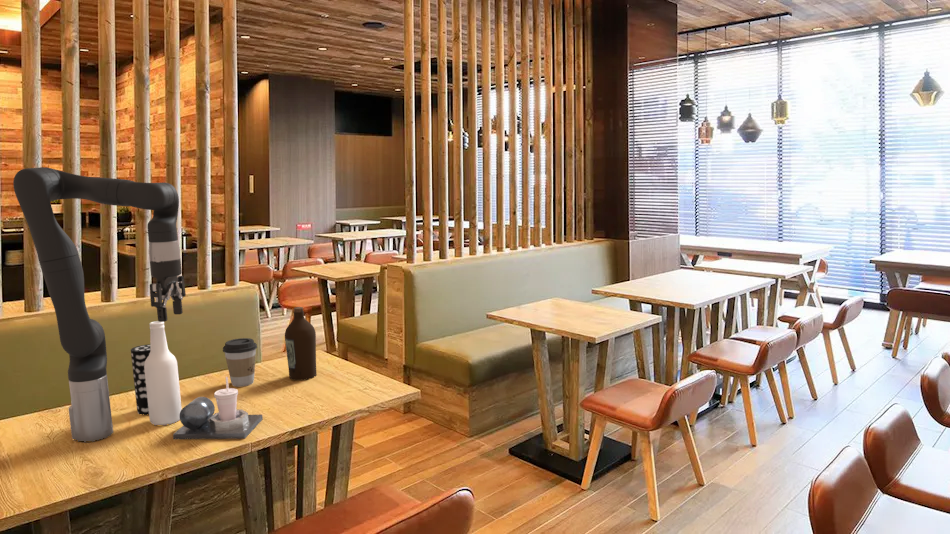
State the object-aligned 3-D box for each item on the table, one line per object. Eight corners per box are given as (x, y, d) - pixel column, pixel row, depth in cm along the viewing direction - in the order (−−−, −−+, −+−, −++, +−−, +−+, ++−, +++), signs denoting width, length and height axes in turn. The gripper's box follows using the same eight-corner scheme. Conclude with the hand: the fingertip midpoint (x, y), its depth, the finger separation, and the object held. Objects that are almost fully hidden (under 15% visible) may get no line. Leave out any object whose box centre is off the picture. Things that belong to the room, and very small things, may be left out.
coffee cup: (253, 388, 224) (250, 345, 222) (220, 389, 224) (216, 346, 222) (264, 377, 235) (261, 336, 233) (232, 378, 235) (229, 337, 233)
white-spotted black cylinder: (171, 409, 206) (165, 347, 203) (143, 417, 200) (136, 353, 197) (160, 403, 212) (154, 342, 209) (133, 410, 206) (126, 348, 203)
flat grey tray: (173, 439, 182) (170, 409, 181) (196, 420, 196) (193, 392, 195) (244, 438, 182) (242, 408, 180) (262, 419, 195) (260, 391, 194)
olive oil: (311, 369, 243) (307, 303, 240) (322, 376, 235) (318, 307, 231) (283, 375, 237) (278, 307, 234) (293, 383, 229) (289, 312, 225)
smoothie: (232, 429, 184) (228, 381, 182) (212, 428, 186) (207, 380, 184) (245, 420, 191) (241, 373, 189) (225, 419, 192) (221, 373, 190)
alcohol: (159, 415, 201) (149, 319, 197) (187, 415, 201) (178, 318, 196) (144, 426, 192) (133, 326, 188) (173, 426, 192) (163, 325, 188)
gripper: (164, 255, 183) (169, 312, 185) (136, 262, 169) (143, 324, 171) (191, 254, 183) (196, 311, 185) (165, 261, 169) (171, 323, 171)
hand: (170, 317), depth 178 cm, fingers open, 8 cm apart
